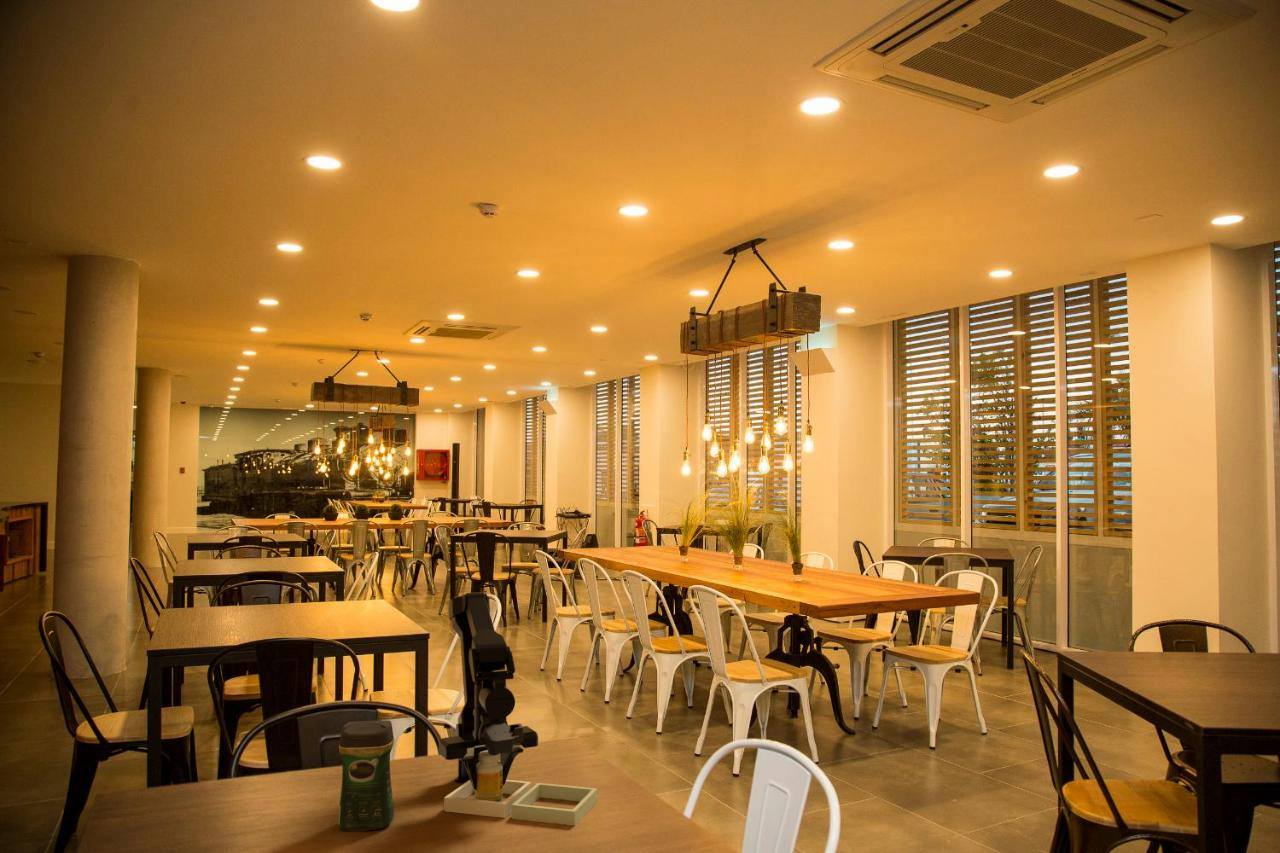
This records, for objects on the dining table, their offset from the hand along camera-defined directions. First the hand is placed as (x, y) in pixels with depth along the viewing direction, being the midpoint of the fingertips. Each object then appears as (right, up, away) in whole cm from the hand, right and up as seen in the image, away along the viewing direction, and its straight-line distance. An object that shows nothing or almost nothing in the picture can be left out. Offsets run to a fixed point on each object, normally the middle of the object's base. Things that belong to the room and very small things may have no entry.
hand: (488, 787), depth 175 cm
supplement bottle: (0, -3, 0) cm, 3 cm away
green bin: (+13, -3, -4) cm, 14 cm away
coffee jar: (-21, -3, -11) cm, 24 cm away
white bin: (0, -3, 0) cm, 3 cm away
